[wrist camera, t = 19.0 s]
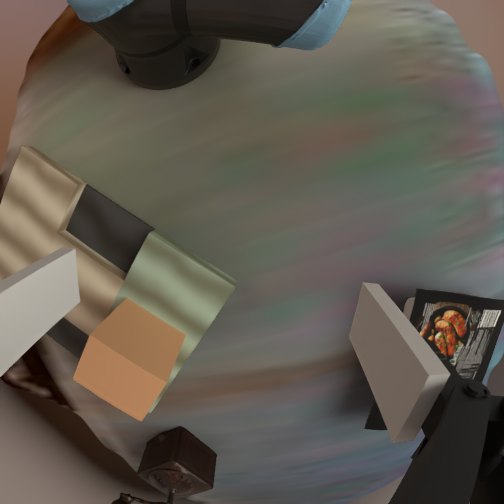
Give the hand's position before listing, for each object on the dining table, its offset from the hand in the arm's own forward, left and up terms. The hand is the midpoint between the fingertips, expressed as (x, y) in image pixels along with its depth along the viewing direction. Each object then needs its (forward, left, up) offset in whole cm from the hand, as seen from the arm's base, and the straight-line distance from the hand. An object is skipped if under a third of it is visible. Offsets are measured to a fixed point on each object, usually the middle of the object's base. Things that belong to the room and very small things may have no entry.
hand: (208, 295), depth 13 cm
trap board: (+10, -24, -30) cm, 40 cm away
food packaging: (+22, +34, -31) cm, 51 cm away
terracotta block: (+17, -14, -27) cm, 35 cm away
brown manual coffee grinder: (+46, -13, -31) cm, 57 cm away
